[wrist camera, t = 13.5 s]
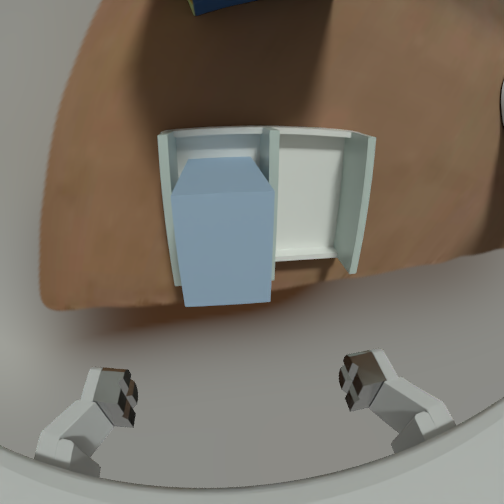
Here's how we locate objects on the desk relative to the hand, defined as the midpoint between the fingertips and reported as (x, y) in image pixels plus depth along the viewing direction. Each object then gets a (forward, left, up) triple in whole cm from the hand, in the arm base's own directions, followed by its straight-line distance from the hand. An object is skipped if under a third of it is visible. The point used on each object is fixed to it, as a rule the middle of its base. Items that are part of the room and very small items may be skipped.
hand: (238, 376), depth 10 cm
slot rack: (-4, 0, -22) cm, 23 cm away
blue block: (0, 0, -21) cm, 21 cm away
